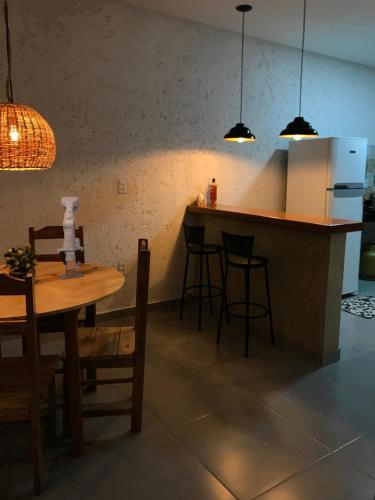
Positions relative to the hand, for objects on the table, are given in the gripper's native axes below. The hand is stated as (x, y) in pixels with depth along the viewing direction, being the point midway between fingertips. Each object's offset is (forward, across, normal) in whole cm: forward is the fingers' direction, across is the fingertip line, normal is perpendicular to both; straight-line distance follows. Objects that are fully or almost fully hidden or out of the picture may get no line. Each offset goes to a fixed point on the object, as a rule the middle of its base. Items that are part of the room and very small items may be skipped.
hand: (70, 264), depth 233 cm
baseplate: (+7, 0, 0) cm, 7 cm away
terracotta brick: (+3, 0, 0) cm, 3 cm away
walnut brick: (+7, 0, 0) cm, 7 cm away
